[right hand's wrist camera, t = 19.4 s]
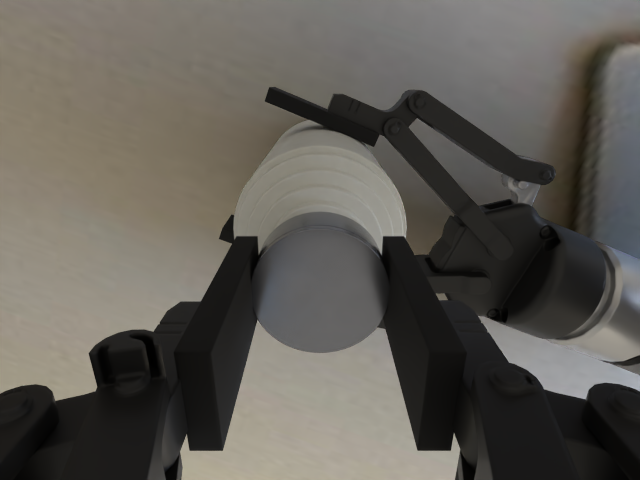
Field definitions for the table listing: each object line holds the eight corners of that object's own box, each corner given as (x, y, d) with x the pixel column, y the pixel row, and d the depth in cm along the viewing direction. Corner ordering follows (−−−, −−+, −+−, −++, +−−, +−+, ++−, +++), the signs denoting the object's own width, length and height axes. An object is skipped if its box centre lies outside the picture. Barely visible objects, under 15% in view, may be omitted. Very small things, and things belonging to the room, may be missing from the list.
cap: (308, 343, 16) (307, 374, 14) (231, 259, 14) (220, 282, 13) (406, 281, 15) (417, 307, 13) (333, 184, 13) (335, 199, 12)
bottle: (376, 121, 29) (457, 177, 12) (365, 223, 32) (418, 383, 15) (269, 115, 29) (196, 162, 12) (268, 217, 32) (208, 373, 15)
